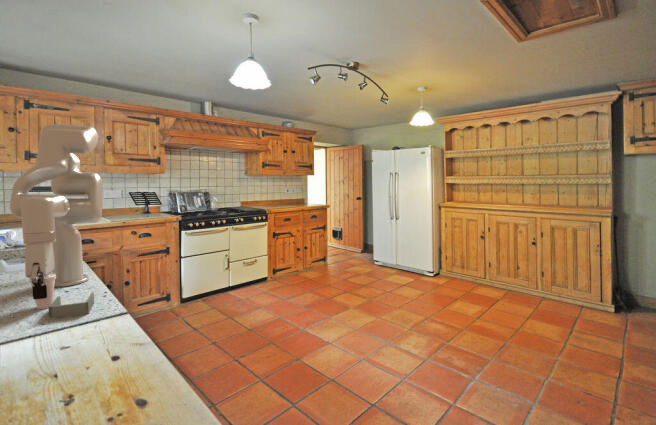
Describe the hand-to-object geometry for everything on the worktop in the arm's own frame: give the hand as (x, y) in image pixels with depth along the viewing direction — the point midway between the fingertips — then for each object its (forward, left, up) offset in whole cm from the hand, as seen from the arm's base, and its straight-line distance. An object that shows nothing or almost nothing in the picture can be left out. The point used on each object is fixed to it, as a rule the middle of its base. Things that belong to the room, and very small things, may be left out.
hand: (44, 294), depth 104 cm
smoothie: (0, 0, -4) cm, 4 cm away
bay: (+7, +9, -4) cm, 12 cm away
